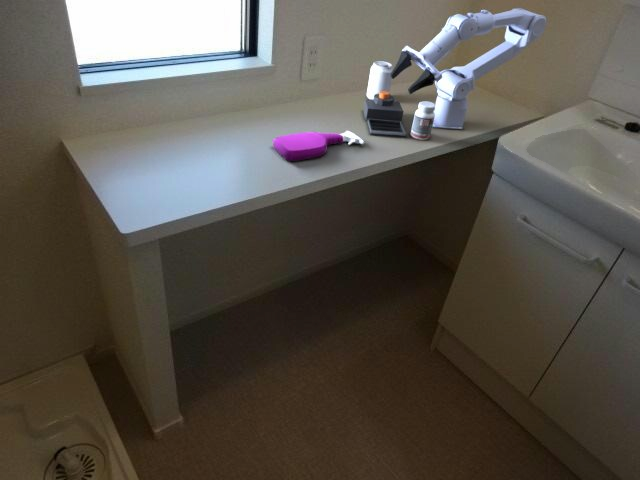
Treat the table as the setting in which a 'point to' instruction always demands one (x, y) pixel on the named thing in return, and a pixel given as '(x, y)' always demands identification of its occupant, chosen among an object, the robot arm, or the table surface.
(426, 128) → the pill bottle
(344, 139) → the spray bottle
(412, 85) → the robot arm
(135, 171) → the table surface
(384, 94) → the button
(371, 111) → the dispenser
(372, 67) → the can
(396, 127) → the drip tray
